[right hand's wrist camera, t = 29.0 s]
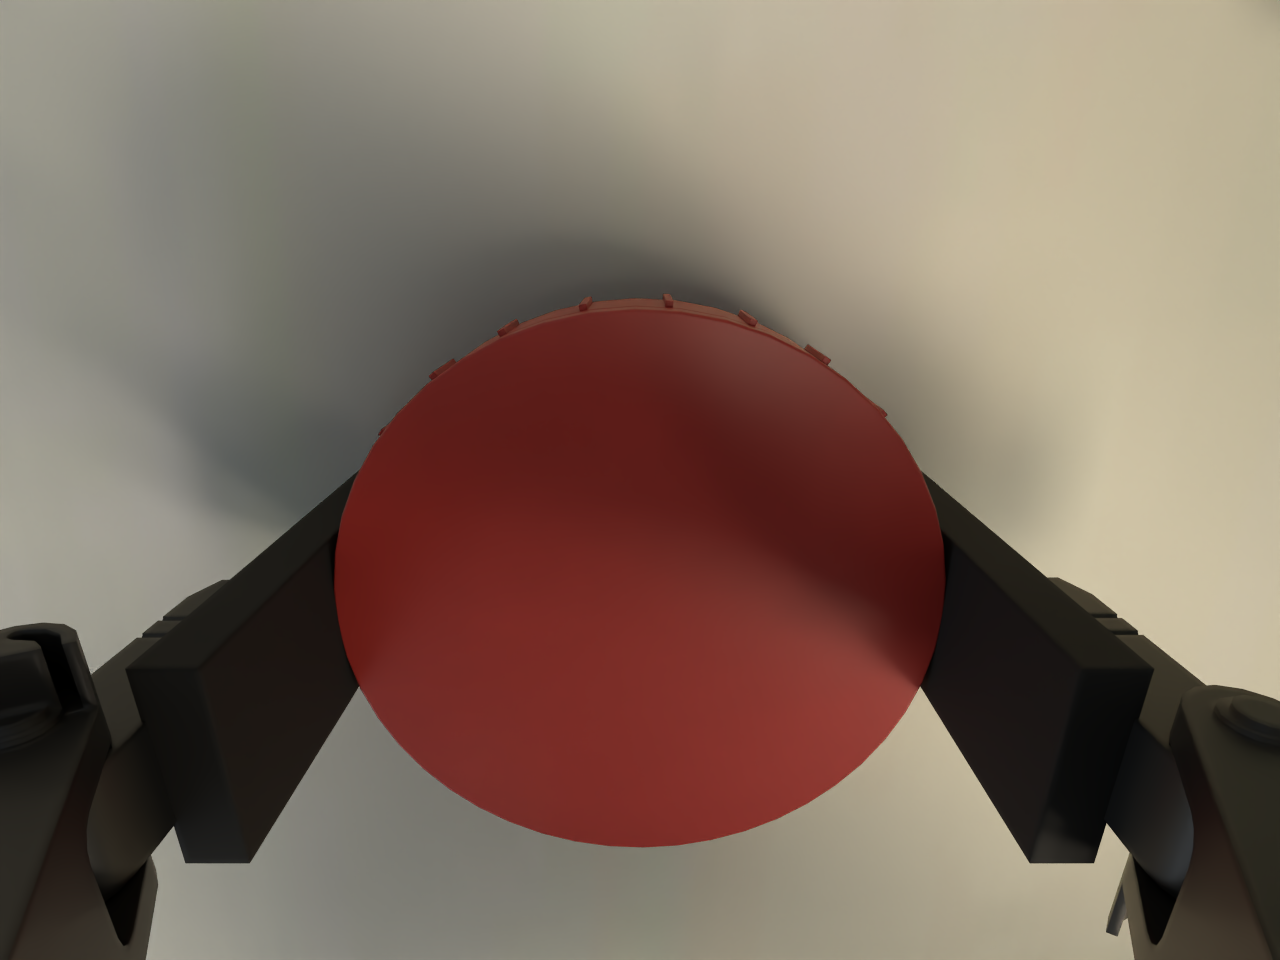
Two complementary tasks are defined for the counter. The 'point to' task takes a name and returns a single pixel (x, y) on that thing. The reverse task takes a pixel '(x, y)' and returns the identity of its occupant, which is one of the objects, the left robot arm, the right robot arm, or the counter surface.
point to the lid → (639, 574)
